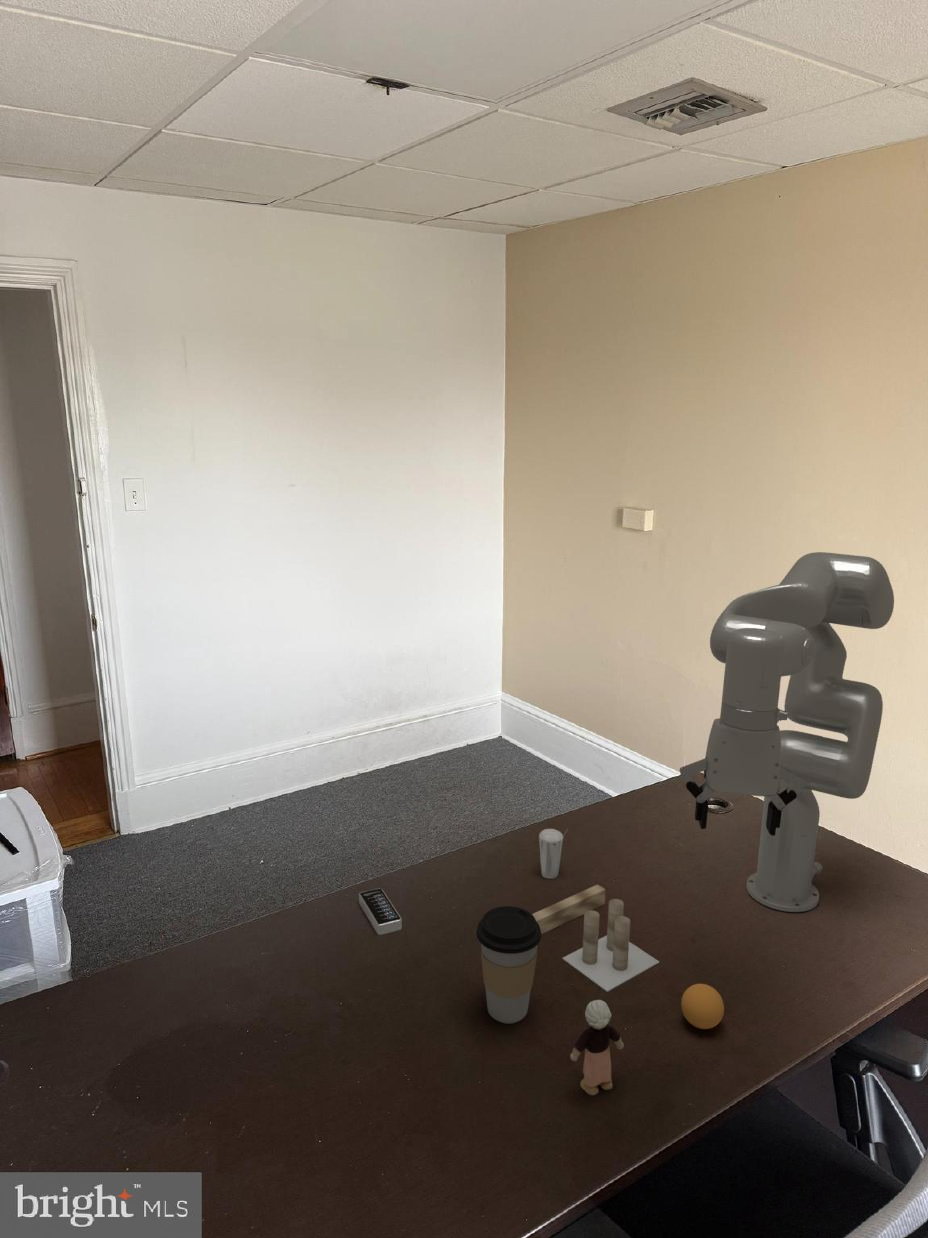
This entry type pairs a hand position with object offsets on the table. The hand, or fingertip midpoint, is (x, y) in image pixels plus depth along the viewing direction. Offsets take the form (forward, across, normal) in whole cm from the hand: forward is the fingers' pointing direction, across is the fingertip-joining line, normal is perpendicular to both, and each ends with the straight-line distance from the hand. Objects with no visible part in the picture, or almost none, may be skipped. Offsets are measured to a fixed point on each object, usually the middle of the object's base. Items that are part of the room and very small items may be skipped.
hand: (736, 828), depth 124 cm
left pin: (+28, +19, -6) cm, 35 cm away
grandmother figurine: (+29, +19, +20) cm, 40 cm away
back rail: (+28, +25, -16) cm, 41 cm away
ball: (+25, +3, +6) cm, 26 cm away
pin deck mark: (+28, +16, -7) cm, 33 cm away
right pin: (+28, +15, -10) cm, 33 cm away
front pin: (+28, +14, -5) cm, 32 cm away
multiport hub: (+29, +56, -13) cm, 65 cm away
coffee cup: (+29, +31, +8) cm, 44 cm away
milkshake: (+28, +27, -31) cm, 49 cm away
